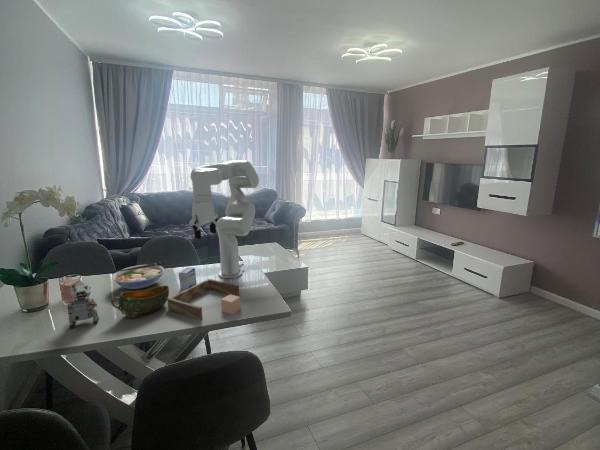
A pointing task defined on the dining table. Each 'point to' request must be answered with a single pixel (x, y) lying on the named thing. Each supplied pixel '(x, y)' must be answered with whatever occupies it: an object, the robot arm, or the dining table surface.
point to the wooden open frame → (180, 299)
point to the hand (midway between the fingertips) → (205, 235)
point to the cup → (142, 301)
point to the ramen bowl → (138, 276)
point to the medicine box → (187, 278)
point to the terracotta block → (230, 304)
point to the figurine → (81, 305)
